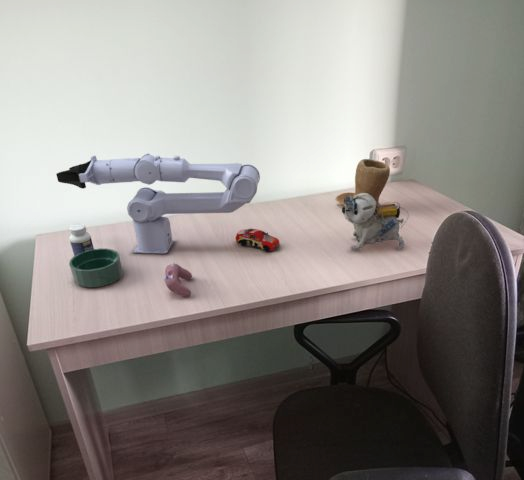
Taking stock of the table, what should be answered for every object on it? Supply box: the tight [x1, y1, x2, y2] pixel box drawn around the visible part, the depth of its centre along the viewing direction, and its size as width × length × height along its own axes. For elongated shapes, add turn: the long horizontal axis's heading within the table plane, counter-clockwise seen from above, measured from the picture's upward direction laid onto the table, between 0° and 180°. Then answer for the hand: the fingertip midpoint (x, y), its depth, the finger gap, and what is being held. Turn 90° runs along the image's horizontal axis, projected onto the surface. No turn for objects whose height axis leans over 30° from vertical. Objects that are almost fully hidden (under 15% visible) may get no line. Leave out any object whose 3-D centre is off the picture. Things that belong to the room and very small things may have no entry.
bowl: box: [68, 247, 124, 288], centre depth 125 cm, size 12×12×5 cm
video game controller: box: [164, 262, 193, 298], centre depth 119 cm, size 10×5×7 cm, turn 5°
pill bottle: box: [69, 223, 95, 257], centre depth 131 cm, size 5×5×10 cm
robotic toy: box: [341, 193, 410, 251], centre depth 131 cm, size 13×17×15 cm
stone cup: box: [335, 158, 391, 213], centre depth 152 cm, size 15×12×15 cm
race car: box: [235, 228, 281, 253], centre depth 137 cm, size 13×5×4 cm, turn 57°
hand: (64, 174), depth 129 cm, fingers open, 7 cm apart
